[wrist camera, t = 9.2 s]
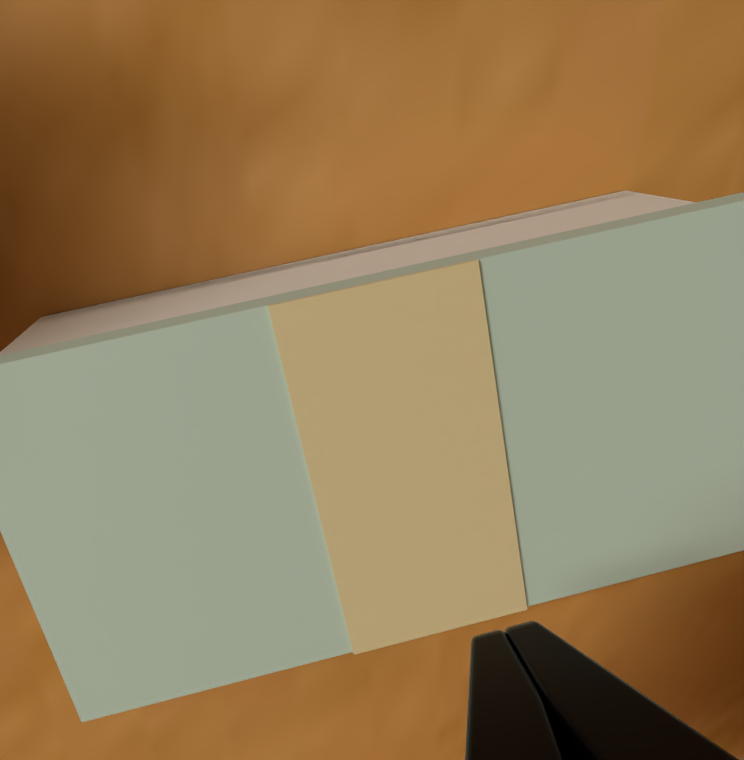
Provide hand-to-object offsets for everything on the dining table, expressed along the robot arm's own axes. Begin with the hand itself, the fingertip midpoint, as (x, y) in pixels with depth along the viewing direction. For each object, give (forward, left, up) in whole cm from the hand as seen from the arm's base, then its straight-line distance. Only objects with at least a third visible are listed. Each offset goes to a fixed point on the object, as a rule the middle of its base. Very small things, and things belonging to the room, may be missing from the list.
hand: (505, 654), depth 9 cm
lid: (0, 0, -7) cm, 7 cm away
